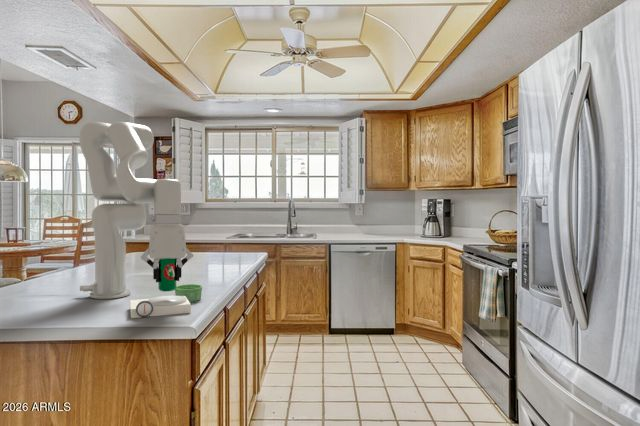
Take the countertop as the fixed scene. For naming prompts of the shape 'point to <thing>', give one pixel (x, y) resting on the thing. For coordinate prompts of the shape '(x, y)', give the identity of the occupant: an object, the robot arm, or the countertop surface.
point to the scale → (159, 306)
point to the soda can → (167, 275)
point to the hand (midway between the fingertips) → (167, 280)
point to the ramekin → (189, 291)
